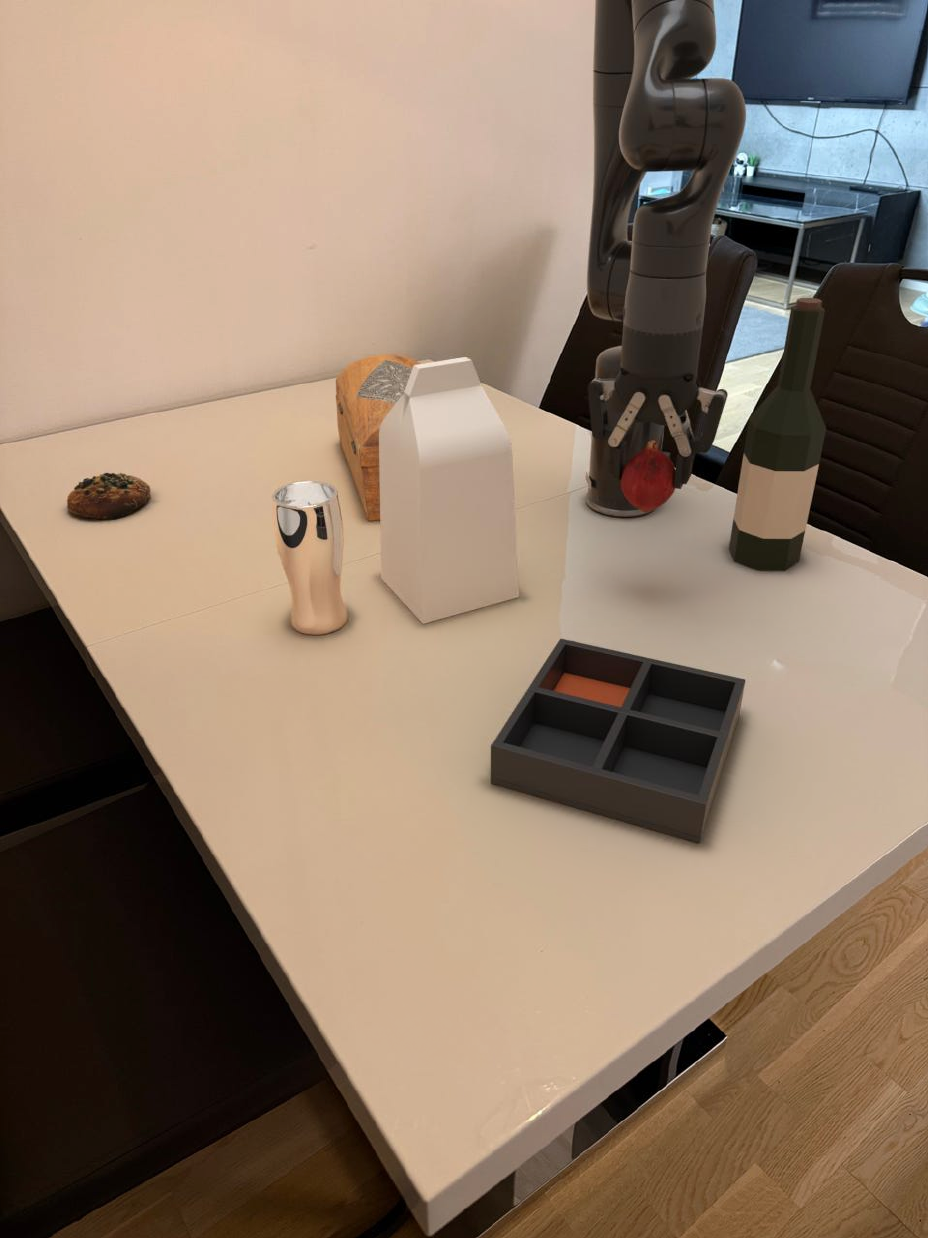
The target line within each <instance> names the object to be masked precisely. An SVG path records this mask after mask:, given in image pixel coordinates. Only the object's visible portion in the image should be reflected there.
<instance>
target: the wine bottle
mask: <svg viewBox="0 0 928 1238" xmlns="http://www.w3.org/2000/svg"><path fill="white" fill-rule="evenodd" d="M795 303H796V304H795V305H793V306H791V307H790V311H789V318H788V323H787V329H786V335H785V341H784V347H783V352H782V358H781V359H782V360H781V364H780V371H779V376H778V381H777V385H776V386H775V387H774V389H773V390H772V391H771V392H770V393H769V394H768V396H767V397H766V398H765V399H764V401H763V402H762V403H761V404H760V405H759V406H758V407H757V409H756V410H755V411H754V412H753V413H752V414H751V416H749V419H748V424H747V431H746V437H745V442H744V443H745V444H744V450H743V457H742V462H741V467H740V474H739V480H738V487H737V493H736V494H737V496H736V501H735V506H734V513H733V519H732V526H731V531H730V537H729V544H728V550H729V553H730V555H731V557H732V559H733V562H735V563H738V564H741V565H743V566H746V567H748V568H751V569H752V570H756V571H781V572H782V571H786V570H788V569H789V568H791V567H793V566H795V565H796V564H798V563H799V562H800V559H801V555H802V548H803V544H804V539H805V534H806V529H807V524H808V520H809V514H810V509H811V505H812V501H813V495H814V491H815V485H816V481H817V476H818V471H819V466H820V461H821V457H822V451H823V446H824V442H825V437H826V432H827V426H826V423H825V422H824V419H823V417H822V414H821V412H820V409H819V407H818V405H817V402H816V400H815V397H814V395H813V392H812V390H811V385H812V381H813V375H814V371H815V365H816V360H817V354H818V351H819V350H818V349H819V344H820V339H821V334H822V330H823V329H822V328H823V323H824V319H825V318H824V317H825V312H826V309H824V308H823V306H822V304H823V300H821V299H820V298H815V297H800V298H797V299H796V302H795Z"/></svg>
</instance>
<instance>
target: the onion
mask: <svg viewBox="0 0 928 1238" xmlns="http://www.w3.org/2000/svg"><path fill="white" fill-rule="evenodd" d="M658 444H659V443H657V442H656V441H654V440H652V441H650V442H648V444H647V446H646V447H645V449H644V450H642V451H640V452H638V453H637V454H635V455H634V456H633V457H631V458H630V459H629V460H628V462H627V463H626V465H625V466H624V469H623V472H622V477H621V489H622V491H623V493H624V495H625V497H626V498H627V500H628V501H629V502H630V503H631V504H632V505H633V506H635V507H636V508H638V509H639V510H641V511H642V512H649V513H651V512H652V511H654V510H655V509H657V508H659V507H661V506H663V505H664V504H665V503H667V502H668V500H669V499H670V498H671V497H672V496H673V494H674V493H675V490H676V488H674V478H675V469H676V466H675V465H674V463H673V462H672V459H671V458H670V459H669V457H668V456H667V455H665V454H664V453H663V452H664V451H660V450H658ZM653 509H654V510H653ZM651 510H652V511H651ZM650 511H651V512H650Z"/></svg>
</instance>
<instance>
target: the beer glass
mask: <svg viewBox="0 0 928 1238" xmlns="http://www.w3.org/2000/svg"><path fill="white" fill-rule="evenodd" d="M271 500H272V517H273V519H272V520H273V530H274V531H273V532H274V538H275V544H276V548H277V552H278V556H279V560H280V562H281V566H282V568H283V571H284V574H285V578H286V580H287V584H288V586H289V591H290V594H291V596H290V597H291V608H290V609H291V610H290V624H291V627H292V628H293V629H294V630H295V631H297V632H299V633H301V634H305V635H310V636H319V635H326V634H329V633H332V632H336V631H338V630H339V629H341V628H342V627H343V626H344V625H346V623H347V621H348V613H347V609H346V606H345V603H344V599H343V596H342V588H341V587H342V585H341V584H342V583H341V581H342V570H343V560H344V547H345V546H344V545H345V544H344V543H345V537H344V525H343V517H342V512H341V505H340V501H339V500H340V499H339V493H338V489H337V487H336V486H335V485H333V484H331V483H328V482H325V481H319V480H301V481H295V482H289V483H287V484H284V485H282V486H280V487H278V488H277V489H275V490H274V491H273V492H272V494H271Z"/></svg>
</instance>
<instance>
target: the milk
mask: <svg viewBox="0 0 928 1238" xmlns="http://www.w3.org/2000/svg"><path fill="white" fill-rule="evenodd" d="M404 393H405V394H403V395H402V396H401V398H400V399H399V400H398V401H397V403H396V404H395V405H394V406H393V408H392V409H391V410H390V412H389V413H388V414H387V415H386V417H385V418H384V420H383V421H382V423H381V426H380V430H379V474H380V520H379V525H380V527H379V530H380V536H379V537H380V579H381V580H382V581H383V582H384V583H385V585H386V586H387V587H388V588H389V589H390V590H391V591H392V593H394V594H395V595H396V597H397V598H398V599H399V600H400V601H401V602H402V603H403V604H404V606H406V608H408V610H409V611H410V612H411V613H412V614H413V615H414V616H415V617H416V619H417V620H419V622H420V623H421V624H422V625H424V624H428V623H432V622H435V621H440V620H442V619H446V618H449V617H453V616H457V615H461V614H464V613H467V612H470V611H471V612H472V611H475V610H478V609H482V608H485V607H489V606H492V605H496V604H500V603H503V602H506V601H510V600H514V599H517V598H519V597H520V591H519V590H520V589H519V569H518V568H519V567H518V547H517V546H518V545H517V528H516V527H517V525H516V505H515V504H516V503H515V483H514V461H513V447H512V441H511V437H510V435H509V432H508V430H507V428H506V426H505V424H504V422H503V420H502V419H501V417H500V415H499V413H498V412H497V410H496V408H495V406H494V405H493V403H492V401H491V399H490V398H489V396H488V394H487V392H486V391H485V389H484V387H483V386H482V385H481V381H480V378H479V376H478V373H477V370H476V367H475V365H474V362H473V360H472V359H470V358H469V357H466V356H463V357H456V358H451V359H445V360H439V361H432V362H425V363H421V364H418V365H414V366H413V369H412V372H411V374H410V377H409V380H408V383H407V385H406V388H405V391H404Z"/></svg>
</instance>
